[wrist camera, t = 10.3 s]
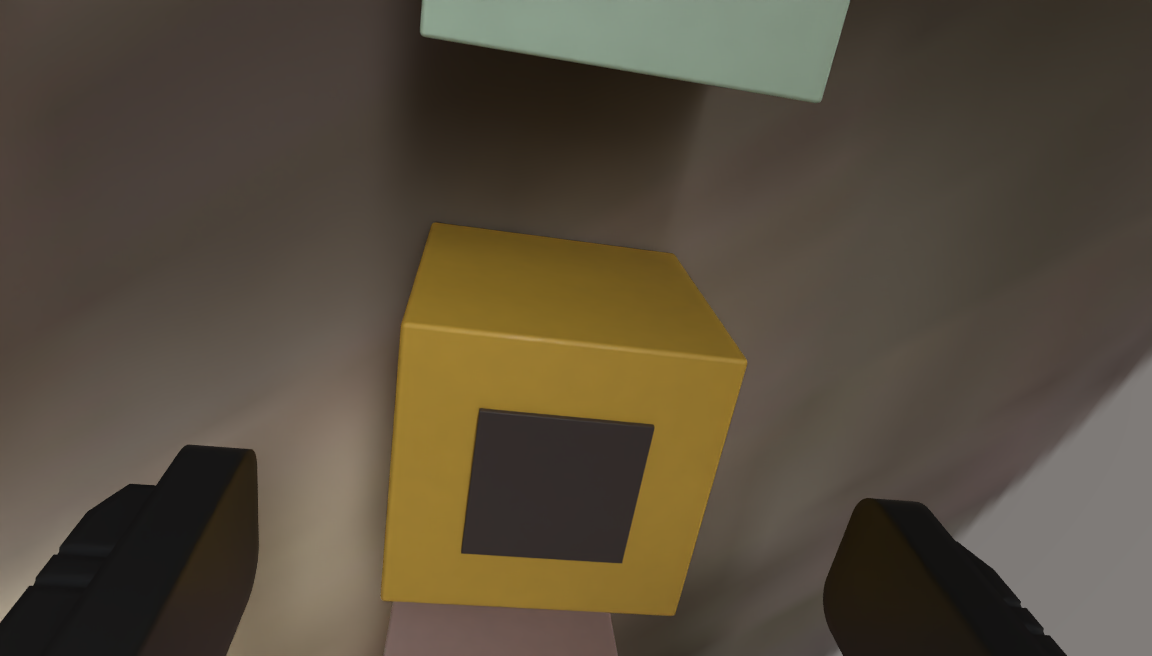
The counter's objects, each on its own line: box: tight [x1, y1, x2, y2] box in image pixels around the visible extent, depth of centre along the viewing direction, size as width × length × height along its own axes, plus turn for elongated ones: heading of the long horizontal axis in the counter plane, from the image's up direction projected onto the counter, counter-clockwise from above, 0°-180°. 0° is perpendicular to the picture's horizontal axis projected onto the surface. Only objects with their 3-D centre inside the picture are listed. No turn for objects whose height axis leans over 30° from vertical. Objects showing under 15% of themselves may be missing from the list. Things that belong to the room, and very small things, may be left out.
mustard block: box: [380, 222, 747, 616], centre depth 13 cm, size 5×5×5 cm
